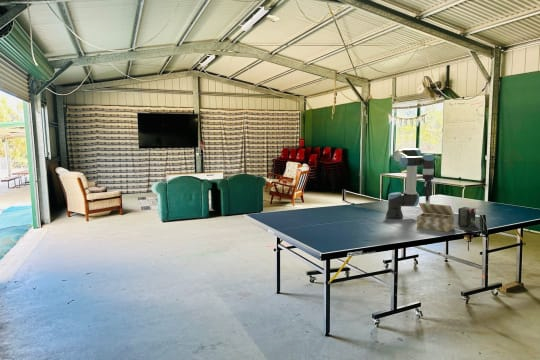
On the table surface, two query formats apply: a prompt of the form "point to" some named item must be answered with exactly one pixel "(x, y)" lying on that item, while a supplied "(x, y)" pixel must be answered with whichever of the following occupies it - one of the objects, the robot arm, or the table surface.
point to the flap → (437, 209)
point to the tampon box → (466, 216)
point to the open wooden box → (435, 222)
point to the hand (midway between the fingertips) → (427, 204)
